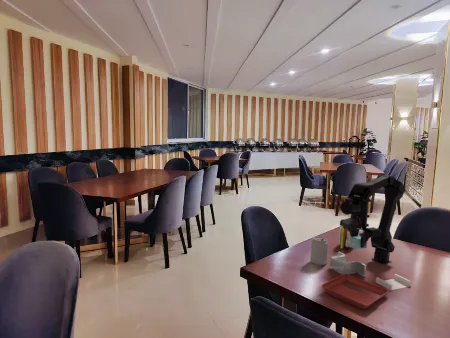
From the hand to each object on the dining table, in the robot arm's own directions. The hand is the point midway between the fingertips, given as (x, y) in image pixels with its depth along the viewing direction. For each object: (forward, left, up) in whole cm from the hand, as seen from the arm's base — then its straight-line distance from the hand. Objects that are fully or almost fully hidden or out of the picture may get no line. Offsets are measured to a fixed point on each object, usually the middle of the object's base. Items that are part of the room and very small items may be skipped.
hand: (358, 246), depth 138 cm
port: (+7, 0, -11) cm, 13 cm away
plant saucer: (+18, +18, -12) cm, 28 cm away
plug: (0, 0, 0) cm, 1 cm away
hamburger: (-18, -25, -11) cm, 33 cm away
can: (+12, -11, -11) cm, 20 cm away
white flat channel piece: (-3, +17, -11) cm, 20 cm away
